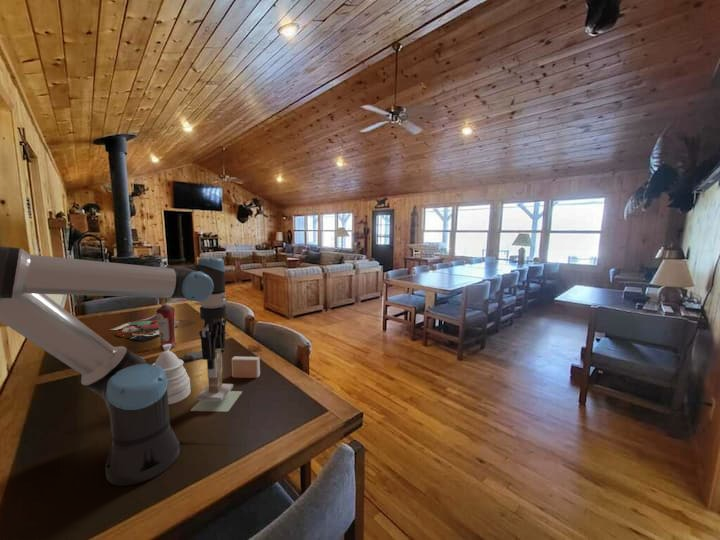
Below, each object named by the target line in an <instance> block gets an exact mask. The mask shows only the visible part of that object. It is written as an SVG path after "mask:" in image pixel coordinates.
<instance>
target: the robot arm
mask: <svg viewBox="0 0 720 540" xmlns="http://www.w3.org/2000/svg"><path fill="white" fill-rule="evenodd" d="M48 295H64V296H65V295H69V296H70V295H71V296H96V297H97V296H98V297H100V296H102V297H107V296H108V297H133V298H134V297H137V298H162V297H163V298H167V299H168V298H169V299H185V300H188V301H191V302H199V306H200V307H199V317H200V319H201V320H203V321H204V325H203V328H204V329H203V330H199V333H198V334H199V337H200V344H201V351H202V356H203V358H202V360H206V363H207V367H206V368H207V370H206V371H207V379H208V378H216V377H217V358H215V348H221V352H222V353H224V352H225V353H226V350H223V349H225V348H226V326H227V325H226V324H227V319H224V318H225V317H226V316H227V309H226V305H225V304H226V299H227V295H226V267H225V261H224V259H223V258H222V257H219V256H217V257H216V256H212V257H211V256H207V257H206V256H205V257H199V258H198V259H197V264H189V265H188V264H187V265H166V266H148V265H139V264H131V263H130V264H128V263H119V262H107V261H99V260H98V261H97V260H88V259H78V258H71V257H70V258H68V257H57V256H49V255H48V256H47V255H38V254H31V253H29V252H27V251H26V250H24V249H23V248H20V247H14V246H13V247H11V246H3V245H0V322H1V323H2V324H4V325H5V326H7V327H9V328H11V329H12V330H13V331H14V332H16V333H18V334H19V335H21V336H22V337H24V338H25V339H26V340H28V341H30V342H31V343H33V344H34V345H36V346H37V347H39V348H41V349H42V350H44V351H45V352H47V353H48V354H49V355H51V356H53V357H54V358H55V359H57V360H59V361H60V362H62V363H64V364H65V365H67V366H68V367H69V368H71V369H72V370H74V371H75V372H77V373H79V374H80V375H81V378H80V379H81V380H80V383H81V385H83V386H84V387H86V388H87V389H89V390H90V391H93V393H95V394H97V395H98V396H100V397H101V398H102V399H103V401H104V403H105V406H106V409H107V411H108V415H109V421H110V422H109V423H110V430H111V439H112V443H111V447H110V449H109V453H108V456H107V459H106V463H105V476H106V477H105V478H106V480H107V481H108V482H109V483H110V484H112V485H115V486H131V485H132V486H133V485H137V484H141V483H144V482H145V481H149V480H151V479H153V478H155V477H157V476H159V475H160V474H162V473H163V472H164V471H166V470H168V469H169V468H170V467H171V466H172V465H173V464H174V463H175V462H176V461H177V459H178V457H179V455H180V452H181V449H180V441H179V438H178V437H177V435H176V434H175V432H174V430H173V428H172V426H171V423H170V422H171V421H170V411H169V410H170V408H169V405H168V392H167V386H168V383H167V378H166V374H165V371H164V370H163V369H162V368H161V367H159V366H157V365H152V364H149V363H148V362H147V361H146V360H145V359H144V358H143V357H141V356H140V355H137V354H135V353H134V352H132V351H131V350H130V349H128V348H127V347H125V346H123V345H121V346H113V345H112V344H110V343H109V342H108V341H106V339H104V338H103V337H101V336H100V335H99V334H98V333H96V332H95V331H93V330H92V329H91V328H90V327H89V326H87V325H86V324H85V323H83V322H82V321H80V320H79V319H78V318H77V317H75V316H74V315H73V314H72V313H70V312H68V311H67V309H64V308H63V306H61V305H60V304H58V303H57V302H56V301H54V299H52V298H51V297H49V296H48ZM222 353H221V364H222V365H223V356H222V355H223V354H222Z"/></svg>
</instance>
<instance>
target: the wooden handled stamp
mask: <svg viewBox="0 0 720 540" xmlns="http://www.w3.org/2000/svg"><path fill="white" fill-rule="evenodd" d="M215 358H217V377H216V378H208V377H207V379H208V385H207V386H206V387H205V388H204V389H203V390H202V391H200V393H199V394H198V395H197V396H196V398H195V399H196V401H200V400H209V401H222V400H223V399H224V397H225V396H226V395H227V394H228V393H229V391H232V389H233V388H234V384H233V383H223V363H222V364H221V348H215Z"/></svg>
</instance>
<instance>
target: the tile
mask: <svg viewBox="0 0 720 540" xmlns="http://www.w3.org/2000/svg"><path fill="white" fill-rule="evenodd" d="M231 374H232V375H231V376H232V378H238V379H239V378H241V379H244V378H246V379H248V378H249V379H257V378H259V377H260V376H261V361H260V356H238V355H237V356H236V355H235V356H233V357H232V358H231Z"/></svg>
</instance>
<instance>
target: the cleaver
mask: <svg viewBox="0 0 720 540" xmlns="http://www.w3.org/2000/svg"><path fill="white" fill-rule="evenodd" d="M223 350H225V348H224V349H223ZM221 353H222V352H221ZM225 354H226V350H225V352H224V353H222V355H225ZM178 359H181V360H183V362H184V363H183V364H185V363H191V362H193V361H195V360H201V359H202V360H203V356H202V350H201V351H200V350H199V351H195V352H190V353H186V354H185V356H184V357H178ZM155 362H156V360H155V361H152V362H151V365H152V364H154V363H155Z"/></svg>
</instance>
